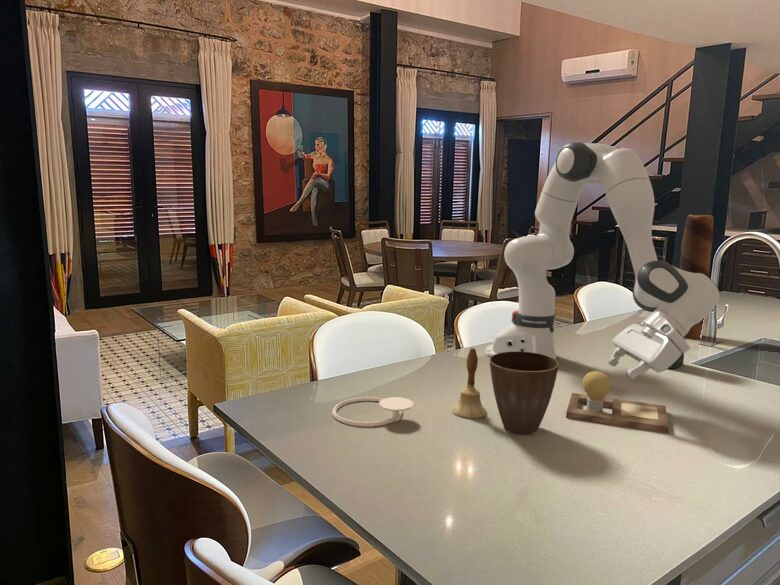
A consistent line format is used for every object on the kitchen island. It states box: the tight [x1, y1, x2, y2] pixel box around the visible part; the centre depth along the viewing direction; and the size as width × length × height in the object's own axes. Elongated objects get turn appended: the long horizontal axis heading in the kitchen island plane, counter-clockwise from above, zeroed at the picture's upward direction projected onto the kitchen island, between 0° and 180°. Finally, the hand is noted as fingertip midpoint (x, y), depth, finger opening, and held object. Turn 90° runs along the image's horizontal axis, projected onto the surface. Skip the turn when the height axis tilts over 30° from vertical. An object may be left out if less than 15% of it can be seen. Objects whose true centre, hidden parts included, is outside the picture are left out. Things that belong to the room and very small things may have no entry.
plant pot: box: [488, 352, 560, 436], centre depth 129 cm, size 15×15×16 cm
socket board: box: [565, 392, 670, 434], centre depth 139 cm, size 22×14×2 cm, turn 68°
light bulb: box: [582, 371, 612, 412], centre depth 140 cm, size 6×6×10 cm
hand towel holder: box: [331, 396, 415, 428], centre depth 137 cm, size 17×4×20 cm
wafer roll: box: [679, 214, 715, 340], centre depth 211 cm, size 10×11×45 cm
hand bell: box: [451, 347, 488, 419], centre depth 138 cm, size 8×8×16 cm
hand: (619, 370), depth 140 cm, fingers open, 8 cm apart
